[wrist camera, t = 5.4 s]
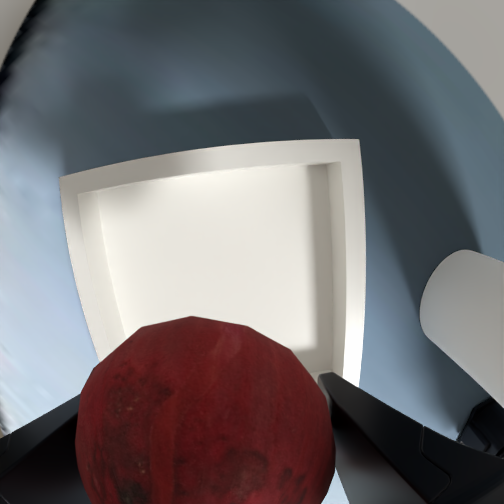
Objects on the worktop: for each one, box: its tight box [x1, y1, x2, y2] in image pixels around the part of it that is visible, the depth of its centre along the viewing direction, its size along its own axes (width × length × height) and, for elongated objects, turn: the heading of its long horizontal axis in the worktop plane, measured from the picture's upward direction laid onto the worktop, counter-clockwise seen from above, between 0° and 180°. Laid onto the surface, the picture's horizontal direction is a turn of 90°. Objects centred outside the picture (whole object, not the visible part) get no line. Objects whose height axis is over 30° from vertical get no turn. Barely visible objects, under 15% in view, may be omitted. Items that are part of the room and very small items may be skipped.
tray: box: [59, 139, 366, 387], centre depth 15 cm, size 14×14×3 cm
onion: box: [75, 316, 336, 504], centre depth 5 cm, size 6×6×8 cm
